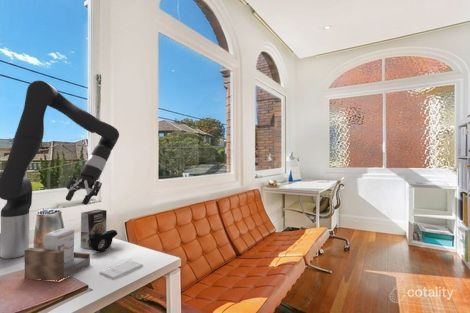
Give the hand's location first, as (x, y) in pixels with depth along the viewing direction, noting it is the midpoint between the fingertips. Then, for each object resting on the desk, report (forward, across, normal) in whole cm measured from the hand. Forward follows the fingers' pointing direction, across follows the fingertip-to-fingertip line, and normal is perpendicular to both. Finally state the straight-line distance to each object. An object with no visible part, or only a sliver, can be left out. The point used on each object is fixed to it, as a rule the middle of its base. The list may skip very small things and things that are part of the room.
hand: (75, 202), depth 106 cm
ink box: (+23, +8, -1) cm, 24 cm away
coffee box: (+14, -1, +23) cm, 27 cm away
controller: (+15, +8, +19) cm, 26 cm away
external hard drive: (+20, +29, +6) cm, 36 cm away
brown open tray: (+25, +8, 0) cm, 26 cm away
